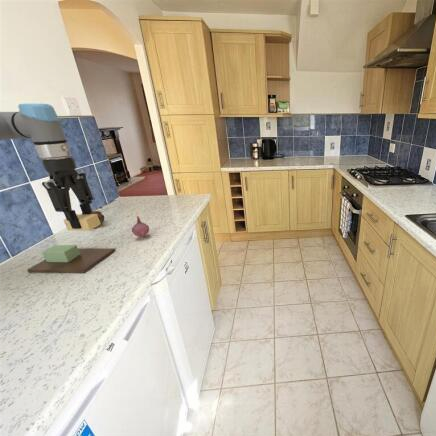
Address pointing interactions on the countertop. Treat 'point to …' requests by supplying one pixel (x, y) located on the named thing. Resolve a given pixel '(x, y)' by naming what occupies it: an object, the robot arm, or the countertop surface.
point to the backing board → (74, 262)
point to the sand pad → (85, 222)
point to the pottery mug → (99, 216)
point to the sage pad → (61, 253)
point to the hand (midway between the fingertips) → (83, 224)
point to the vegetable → (140, 228)
